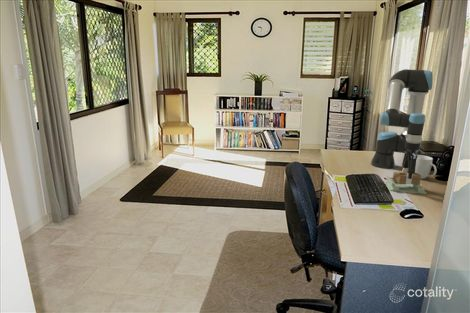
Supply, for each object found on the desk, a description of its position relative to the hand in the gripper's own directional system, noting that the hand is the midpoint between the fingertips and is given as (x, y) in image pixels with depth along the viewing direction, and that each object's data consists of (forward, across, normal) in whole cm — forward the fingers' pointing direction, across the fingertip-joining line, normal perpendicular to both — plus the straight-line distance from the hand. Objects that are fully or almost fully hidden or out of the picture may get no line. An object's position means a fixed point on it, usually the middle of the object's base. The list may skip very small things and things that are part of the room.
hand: (405, 181), depth 199 cm
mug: (+4, -24, +16) cm, 29 cm away
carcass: (+4, 0, 0) cm, 4 cm away
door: (+1, 0, 0) cm, 1 cm away
